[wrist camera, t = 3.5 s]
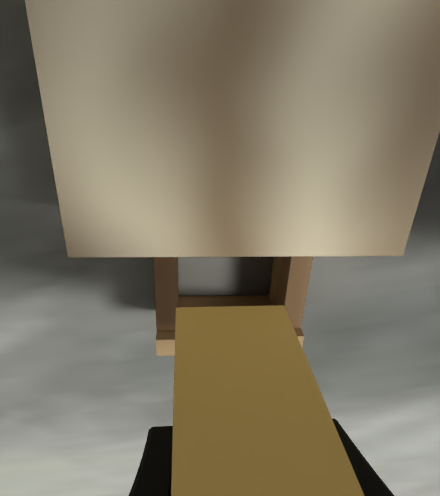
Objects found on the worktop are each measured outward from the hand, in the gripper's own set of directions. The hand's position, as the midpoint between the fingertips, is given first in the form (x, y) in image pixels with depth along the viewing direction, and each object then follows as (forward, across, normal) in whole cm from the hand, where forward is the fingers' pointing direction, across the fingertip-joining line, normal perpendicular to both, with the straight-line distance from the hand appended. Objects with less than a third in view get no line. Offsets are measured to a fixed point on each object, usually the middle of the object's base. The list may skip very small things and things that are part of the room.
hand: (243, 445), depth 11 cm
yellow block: (+4, 0, 0) cm, 4 cm away
